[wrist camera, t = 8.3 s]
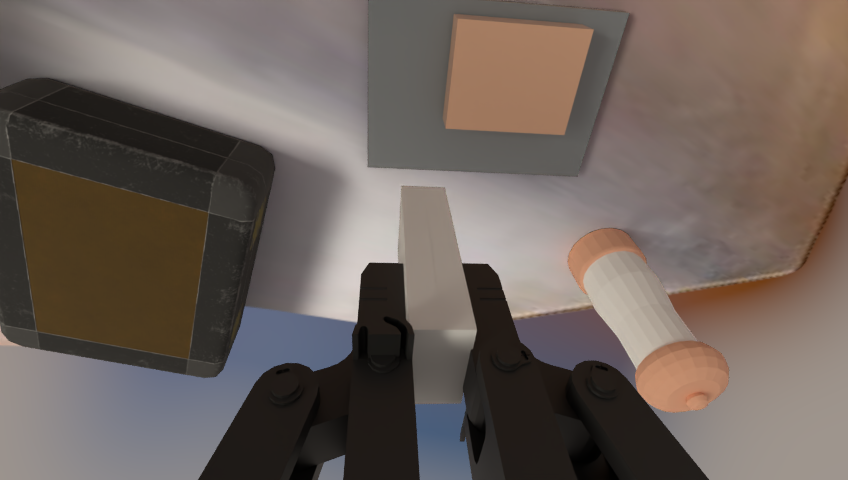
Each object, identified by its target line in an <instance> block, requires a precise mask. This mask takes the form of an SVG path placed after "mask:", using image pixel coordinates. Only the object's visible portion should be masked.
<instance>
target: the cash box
mask: <svg viewBox="0 0 848 480" xmlns="http://www.w3.org/2000/svg"><path fill="white" fill-rule="evenodd" d="M274 171H275V166H274V161H273V157H272V154H270V153H269V152H268V151H266V150H265V149H263V148H262V147H261V146H258V145H255V144H252V143H249V142H245V141H242V140H240V139H236V138H233V137H230V136H227V135H224V134H221V133H218V132H215V131H211V130H208V129H205V128H202V127H199V126H196V125H193V124H190V123H186V122H183V121H180V120H177V119H174V118H171V117H168V116H165V115H161V114H158V113H155V112H152V111H149V110H146V109H143V108H140V107H136V106H133V105H130V104H127V103H124V102H121V101H118V100H115V99H111V98H108V97H105V96H102V95H99V94H96V93H93V92H90V91H86V90H83V89H80V88H77V87H74V86H71V85H67V84H64V83H61V82H58V81H55V80H52V79H49V78H40V79H26V80H23V81H21V82H18V83H16V84H13V85H10V86H8V87H5V88H3V89H0V326H1V331H2V333H3V334H4V336H5V337H6V338H7V339H8V340H9V341H10V342H13V343H16V344H18V345H21V346H24V347H30V348H35V349H41V350H46V351H53V352H58V353H64V354H70V355H75V356H81V357H87V358H93V359H98V360H104V361H110V362H116V363H122V364H128V365H133V366H139V367H144V368H150V369H156V370H162V371H168V372H173V373H179V374H185V375H191V376H197V377H203V378H208V377H216V376H217V375H218V374H219V373H220V372H221V371H222V370H223V368H224V366H225V363H226V361H227V358H228V355H229V353H230V350H231V348H232V345H233V343H234V340H235V338H236V335H237V332H238V330H239V327H240V324H241V319H242V315H243V310H244V306H245V301H246V297H247V293H248V288H249V284H250V279H251V275H252V270H253V266H254V261H255V257H256V252H257V248H258V243H259V239H260V234H261V230H262V225H263V221H264V216H265V212H266V208H267V203H268V199H269V194H270V190H271V185H272V180H273V176H274Z"/></svg>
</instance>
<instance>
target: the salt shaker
mask: <svg viewBox="0 0 848 480" xmlns="http://www.w3.org/2000/svg"><path fill="white" fill-rule="evenodd" d="M568 265H569V269H570V271H571V272H572V274H573V276H574V278H575V280H576V282H577V283H578V285H579V287H580V289H581V290H582V291H583V292H584V293H585V294H587V295H588V296H589V298H590V300H591V302H592V304H593V306H594V308H595V310H596V311H597V313H598V314H599V315H600V316H601V317H602V319H603V320H604V321H605V322H606V323H607V325H608V326H609V327H610V328H611V329H612V331H613V332H614V333H615V334H616V336H617V337H618V338H619V340H620V342H621V343H622V345H623V347H624V349H625V350H626V352H627V354H628V356H629V357H630V359H631V361H632V362H633V364H634V366H635V368H636V369H637V370H636V373H635V379H636V386H637V392H638V393H639V394H640V395H641V396H642V397H643V398H644V399H645V400H646V401H647V403H649V404H650V405H652V406H654V407H655V408H657V409H660V410H662V411H665V412H685V411H689V410H701V409H703V408H705V407H706V406H707V405H708V403H710V402H711V401H713V400H714V399H716V398H717V397H718V396H719V395H720V394H721V393H722V392H723V391H724V390H725V388H726V387H727V385H728V379H729V367H728V365H727V362H726V360H725V359H724V357H723V355H722V354H721V353H720V352H719V351H717V350H716V349H714V348H712V347H711V346H709V345H707V344H704V343H703V342H698V340H697V339H696V338H695V337H694V335H693V334H692V333H691V331H690V330H689V328H688V327H687V326H686V325H685V323H684V322H683V320H682V319H681V318H680V316H679V315H678V314H677V313H676V311H675V309H674V307H673V305H672V303H671V302H670V299H669V297H668V295H667V293H666V291H665V289H664V287H663V285H662V283H661V282H660V280H659V279H658V277H657V276H656V275H655V274H654V272H653V271H652V270H651V269H650V268H649V266H648V265H647V262H646V258H645V256H644V255H643V253H642V252H641V250H640V249H639V248H638V247H637V245H636V244H635V243H634V242H633V240H632V239H631V238H630V237H629V235H628V234H626V233H625V232H623V231H622V230H619V229H614V228H606V229H599V230H596V231H593V232H590V233H589V234H587V235H585V236H584V237H582V238H581V239H580V240H579V241H578V242H577V243H576V244H575V245H574V246H573V248H572V249H571V251H570V253H569V257H568Z"/></svg>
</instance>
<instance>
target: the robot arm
mask: <svg viewBox="0 0 848 480" xmlns="http://www.w3.org/2000/svg"><path fill="white" fill-rule="evenodd" d="M352 344H353V345H352V346H353V350H352V352H351V353H350V354H349V355H348V356H347V357H346V358H345V359H344V360H343V361H341V362H340V363H338V364H336V365H333V366H331V367H328V368H324V369H321V370H317V371H314V372H313V371H312V370H311V369H310V368H309V367H307V366H304V365H301V364H298V363H285V364H282V365H278V366H275V367H273V368H271V369H270V370H268V371H266V372H265V373H263V374H262V376H261V377H260V378H259V379H258V381H256V383H255V384H254V386H253V388H252V389H251V391H250V393H249V394H248V396H247V398H246V400H245V401H244V403H243V405H242V407H241V408H240V410H239V411H238V413H237V415H236V416H235V418H234V420H233V422H232V423H231V425H230V427H229V428H228V430H227V432H226V433H225V435H224V437H223V439H222V440H221V442H220V444H219V445H218V447H217V449H216V450H215V452H214V454H213V455H212V457H211V459H210V461H209V462H208V464H207V466H206V467H205V469H204V471H203V472H202V474H201V476H200V478H199V479H198V480H318V477H319V474H320V472H321V469H322V466H323V463H324V462H326V461H329V460H331V459H334V458H337V457H340V456H342V455H345V466H344V478H343V480H420V479H419V478H420V477H419V461H418V445H417V429H416V412H415V404H443V403H444V404H445V403H447V404H448V403H461V401H462V396H463V392H464V397H465V403H466V411H465V416H464V420H463V424H462V428H461V433H460V441H464V440H465V437H466V441H467V447H468V454H469V460H470V466H471V473H472V479H473V480H709V479H708V478H707V477H706V475H705V474H704V473H703V472H702V471H701V469H700V468H699V467H698V466H697V464H696V463H695V462H694V461H693V459H692V458H691V457H690V456H689V454H688V453H687V452H686V451H685V450H684V448H683V447H682V446H681V445H680V444H679V442H678V441H677V440H676V439H675V437H674V436H673V435H672V434H671V433H670V431H669V430H668V429H667V428H666V426H665V425H664V424H663V423H662V421H661V420H660V419H659V418H658V416H657V415H656V414H655V413H654V411H653V410H652V409H651V408H650V407H649V405H648V404H647V403H646V402H645V400H644V399H643V398H642V397H641V395H640V394H639V393H638V392H637V391H636V389H635V388H634V387H633V386H632V384H631V383H630V382H629V381H628V380H627V378H626V377H624V375H622V374H621V373H620V372H619V371H618V370H617V369H615V368H613V367H612V366H610V365H608V364H606V363H602V362H599V361H584V362H581V363H579V364H577V365H576V367H575V368H574V370H573V371H571V370H568V369H564V368H560V367H556V366H553V365H549V364H547V363H544V362H541V361H540V360H538V359H536V358H535V357H534V356H533V354H532V352H531V351H530V350H529V349H528V348H527V347H526V346H525V345H524V344H522V343H521V342H520V340H519V338H518V334H517V331H516V328H515V325H514V322H513V319H512V316H511V313H510V310H509V307H508V304H507V301H506V298H505V295H504V292H503V290H502V285H501V282H500V279H499V276H498V275H497V273H496V272H495V271H494V270H493V269H492V268H491V267H490V266H489V265H488V264H465V263H462V262H461V257H460V253H459V248H458V244H457V240H456V235H455V231H454V226H453V222H452V218H451V213H450V209H449V204H448V200H447V195H446V191H445V188H443V187H417V186H401V203H400V221H399V239H398V263H369V264H368V265H367V267H366V268H365V270H364V271H363V272H362V274H361V285H360V297H359V310H358V322H357V324H356V325H355V328H354V331H353V334H352Z"/></svg>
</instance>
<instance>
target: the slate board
mask: <svg viewBox="0 0 848 480" xmlns="http://www.w3.org/2000/svg"><path fill="white" fill-rule="evenodd" d="M454 14H463V15H475V16H488V17H500V18H512V19H524V20H537V21H549V22H561V23H573V24H583V25H585V26H587V27H589V28H591V29H594V31H593V35H592V38H591V42H590V45H589V49H588V53H587V56H586V60H585V63H584V67H583V70H582V74H581V77H580V81H579V85H578V88H577V92H576V95H575V99H574V102H573V106H572V109H571V113H570V117H569V120H568V124H567V127H566V131H565V134H564V135H553V134H534V133H516V132H498V131H479V130H461V129H446V128H445V125H444V122H443V110H444V101H445V91H446V82H447V73H448V63H449V54H450V45H451V35H452V26H453V17H454ZM628 16H629V13H628V12H625V11H616V10H604V9H592V8H581V7H569V6H557V5H546V4H534V3H522V2H511V1H499V0H368V167H375V168H397V169H419V170H442V171H464V172H486V173H509V174H531V175H553V176H576V177H578V173H579V170H580V167H581V164H582V161H583V158H584V155H585V151H586V148H587V145H588V142H589V139H590V136H591V133H592V129H593V126H594V123H595V120H596V117H597V114H598V111H599V107H600V104H601V101H602V98H603V95H604V92H605V89H606V85H607V82H608V79H609V76H610V73H611V70H612V67H613V63H614V60H615V57H616V54H617V51H618V48H619V45H620V41H621V38H622V35H623V32H624V29H625V26H626V23H627V19H628Z"/></svg>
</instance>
